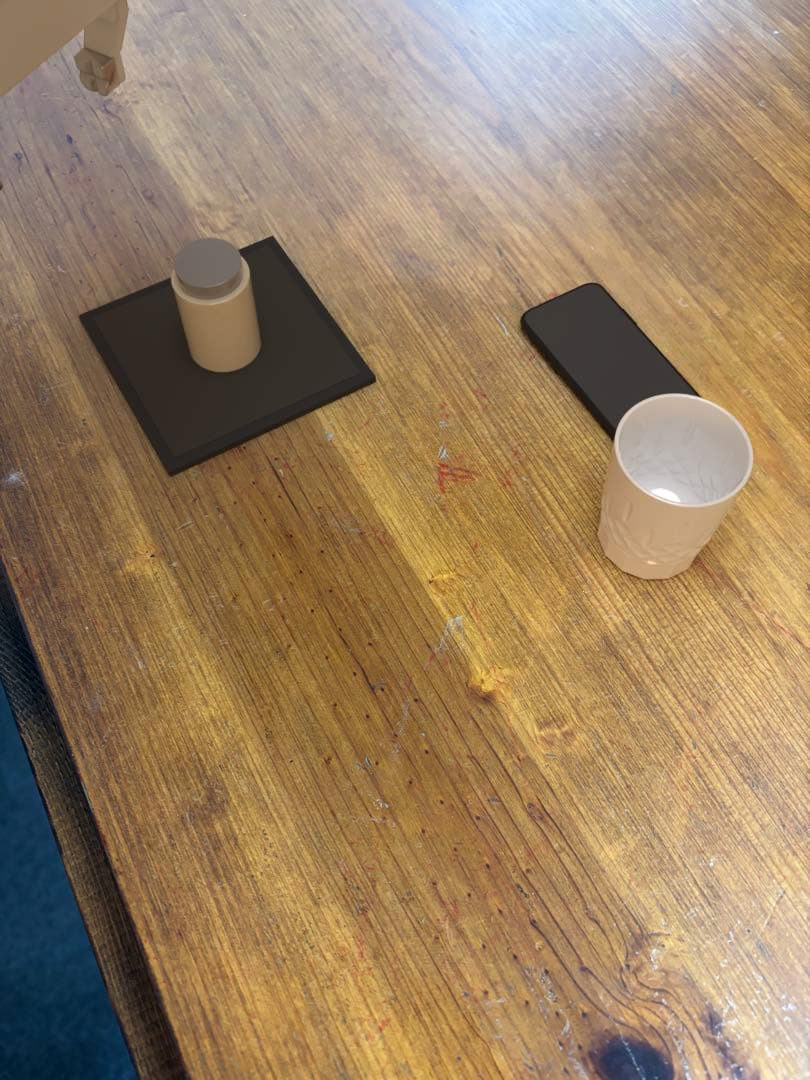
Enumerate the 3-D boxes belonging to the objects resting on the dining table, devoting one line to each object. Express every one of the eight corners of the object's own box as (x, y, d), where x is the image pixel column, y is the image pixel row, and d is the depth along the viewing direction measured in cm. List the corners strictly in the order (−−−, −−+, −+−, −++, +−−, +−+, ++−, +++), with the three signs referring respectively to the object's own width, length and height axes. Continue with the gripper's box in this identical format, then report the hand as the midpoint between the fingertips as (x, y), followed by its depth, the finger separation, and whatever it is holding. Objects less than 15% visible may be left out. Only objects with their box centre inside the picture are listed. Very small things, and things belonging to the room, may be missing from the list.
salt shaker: (207, 383, 75) (187, 302, 68) (177, 334, 77) (154, 251, 70) (274, 354, 76) (261, 272, 69) (241, 306, 78) (226, 222, 71)
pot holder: (170, 477, 71) (168, 471, 71) (80, 320, 78) (77, 314, 78) (376, 381, 76) (376, 375, 75) (273, 240, 82) (272, 234, 82)
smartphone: (638, 464, 71) (514, 314, 77) (635, 471, 72) (512, 322, 78) (724, 418, 73) (596, 276, 79) (720, 426, 74) (594, 284, 80)
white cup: (562, 529, 70) (586, 440, 61) (646, 464, 72) (679, 371, 63) (650, 612, 67) (688, 531, 58) (734, 542, 69) (782, 455, 60)
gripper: (55, -293, 46) (122, 9, 58) (-325, -65, 37) (-152, 240, 48) (175, -257, 44) (219, 46, 56) (-190, -10, 35) (-45, 291, 47)
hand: (45, 138), depth 52 cm, fingers open, 8 cm apart
